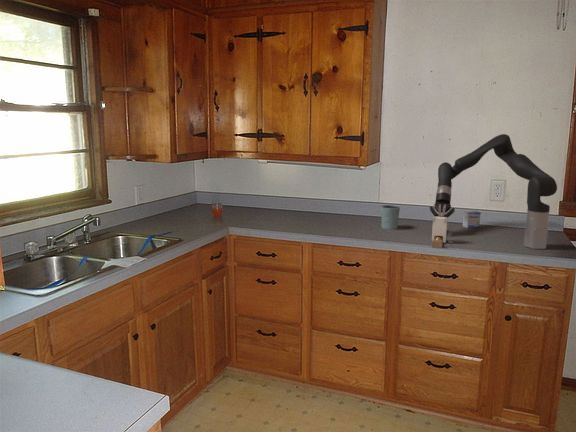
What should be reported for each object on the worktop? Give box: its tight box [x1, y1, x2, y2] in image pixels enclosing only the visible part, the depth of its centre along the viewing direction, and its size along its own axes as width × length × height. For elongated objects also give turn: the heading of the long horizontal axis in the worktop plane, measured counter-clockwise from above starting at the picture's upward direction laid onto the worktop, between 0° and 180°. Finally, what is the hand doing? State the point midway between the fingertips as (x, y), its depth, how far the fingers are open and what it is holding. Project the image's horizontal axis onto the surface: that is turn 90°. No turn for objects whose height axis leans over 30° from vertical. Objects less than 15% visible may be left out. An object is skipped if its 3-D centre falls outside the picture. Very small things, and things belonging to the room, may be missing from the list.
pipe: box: [431, 235, 454, 249], centre depth 251 cm, size 38×9×3 cm, turn 160°
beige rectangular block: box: [431, 215, 449, 244], centre depth 245 cm, size 5×6×12 cm
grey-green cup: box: [380, 204, 401, 231], centre depth 274 cm, size 10×10×12 cm
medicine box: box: [462, 210, 482, 229], centre depth 278 cm, size 8×4×9 cm, turn 105°
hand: (440, 223), depth 256 cm, fingers closed
